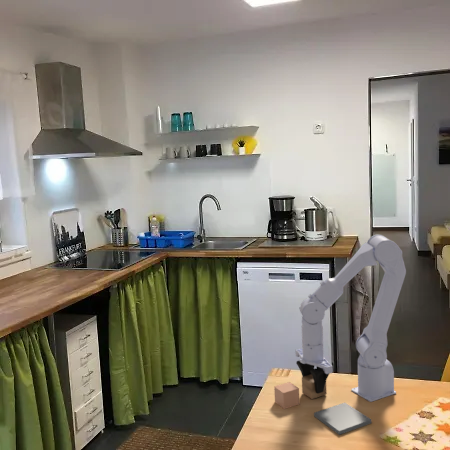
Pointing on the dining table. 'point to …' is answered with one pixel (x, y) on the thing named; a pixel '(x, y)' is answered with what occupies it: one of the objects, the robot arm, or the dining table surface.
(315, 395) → the walnut brick
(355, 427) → the base plate
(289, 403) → the pinkish tan block
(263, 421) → the dining table surface
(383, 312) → the robot arm
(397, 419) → the dining table surface
